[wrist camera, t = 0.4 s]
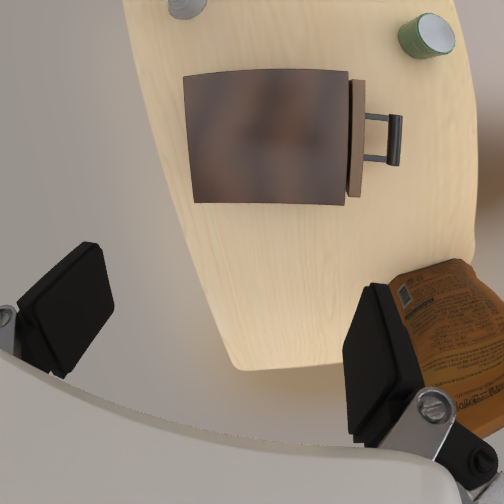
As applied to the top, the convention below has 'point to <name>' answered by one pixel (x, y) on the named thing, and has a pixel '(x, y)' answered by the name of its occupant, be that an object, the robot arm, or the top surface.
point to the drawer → (357, 138)
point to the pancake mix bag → (457, 339)
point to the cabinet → (268, 136)
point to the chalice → (185, 8)
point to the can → (427, 37)
